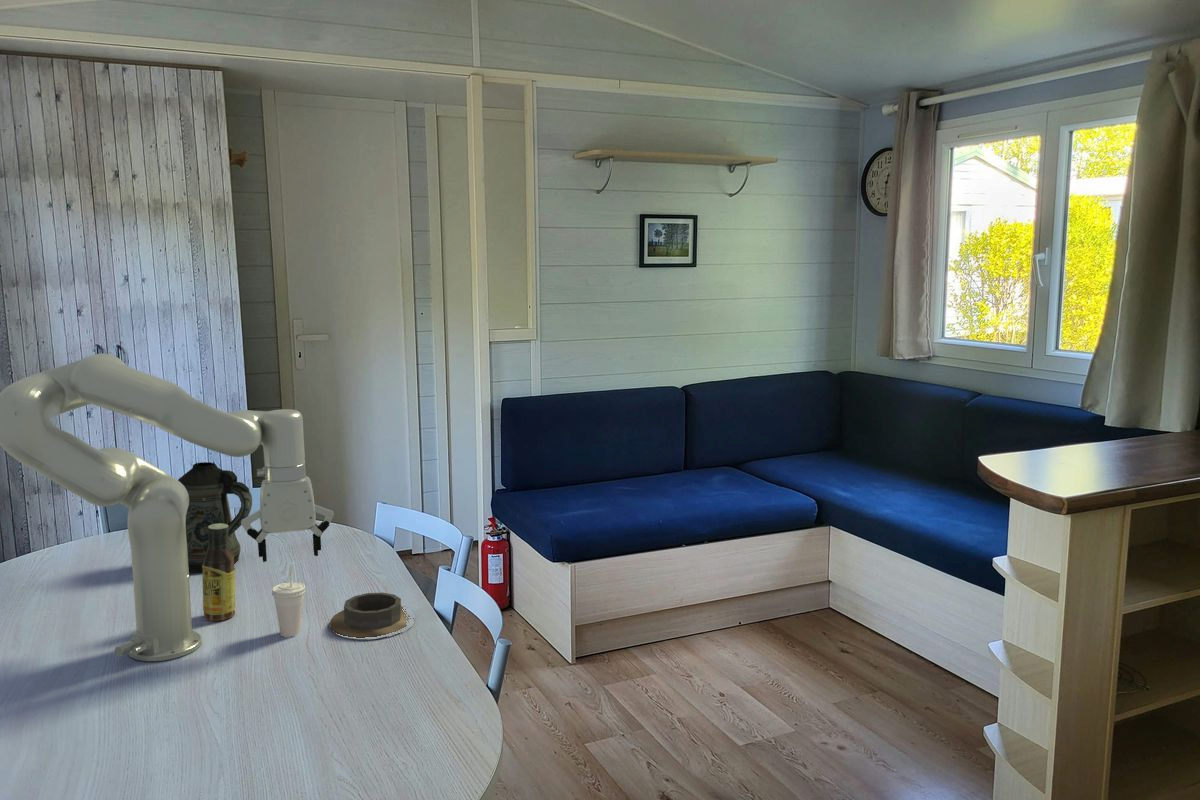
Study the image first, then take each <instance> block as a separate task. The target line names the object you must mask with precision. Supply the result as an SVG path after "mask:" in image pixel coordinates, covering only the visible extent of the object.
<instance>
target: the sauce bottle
mask: <svg viewBox="0 0 1200 800" xmlns="http://www.w3.org/2000/svg"><path fill="white" fill-rule="evenodd" d="M228 532H229V526H228V525H227V524H222V523H219V524H212V525H210V526H208V529H207V533H208V535H209V537H208V538H209V544H208V549H207V552H206V555H205V558H204V562H203V565H202V573H201V574H202V611H203V617H204V619H205V620H206V621H209V622H222V621H225V620H228V619H232V618H233V617H234V616H235V614H236V568H235V565H234V555H233V553H232V552H231V550H230V549H229V546H228Z"/></svg>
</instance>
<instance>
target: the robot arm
mask: <svg viewBox="0 0 1200 800" xmlns="http://www.w3.org/2000/svg"><path fill="white" fill-rule="evenodd" d="M88 405H94V406H96V407H99V408H103V409H104V410H108V411H112V412H114V413H116V414H120V415H123V416H126V417H128V418H132V419H135V420H137V421H140V422H143V423H146V424H149V425H152V426H154V427H156V428H158V429H160V430H162V431H164V432H165V433H169V434H171V435H174V436H175V437H177V438H180V439H182V440H184V441H186V442H189V443H191V444H193V445H197V446H198V447H201V448H204V449H207V450H211V451H214V452H216V453H219V454H222V455H225V456H228V457H233V458H234V457H235V458H241V457H247V456H249V455H251V454H253V453H254V452H256V450H257V449H259V446H260V445H261V446H262V447H263V463H264V466H263V467H262V468H260V469H259V468H257V469H256V476H257V477H263V478H264V479H263V480H262V482H261V485H260V494H259V496H260V497H259V509H257V510H256V511H255V512H253V513H250V514H249V515H248V517H246V518H244V519H242V521H241V526H242V528H243V529H244V531H245V532H246V533H247V535H248V536H249V537H251V538H252V539H254V540H255V541H256V543H257V548H258V558H262V562H263V563H266V562H267V561H268V558H267V543H266V537H267V536H268V534H281V533H291V532H300V531H306V530H307V531H308V530H309V531H311V532H312V533H313V534H312V546H313V547H312V548H313V555H314V556H315V557H318V556H319V551H322V541H321V540H322V539H321V538H322V537H321V536H322V535H323V533H324V532H325V531H326V530H327V529H328V528H329V526H330V524H331V522H332V520H333V518H334V516H335V513H334V510H332V509H329V508H326V507H323V506H320V505H319V504H315V497H314V489H313V486H312V485H313V484H312V481H311V478H310V477H309V476H307V473H306V471H307V470H306V454H305V441H304V440H305V439H304V438H305V437H304V420H303V419H304V417H303V415H302V413H301V412H300V411H299V410H296V409H288V408H286V409H274V410H269V411H268V410H267V411H266V410H264V411H263V410H250V409H249V410H248V409H239V410H238V409H237V410H234V411H231V412H226V411H224V410H221V409H218V408H216V407H213V406H211V405H208V404H206V403H204V402H201V401H199V400H198V399H196V398H194V397H193V396H191V394H188V393H187V392H186V390H184V389H183V388H182V387H181V386H179V385H177V384H176V383H173V382H171V381H169V380H166V379H163V378H160V377H157V376H154V375H151V374H149V373H146V372H143V371H140V370H138V369H135V368H133V367H130V366H127V365H126V364H125V362H124V361H123V360H122V359H120V358H119V357H118V356H115V355H113V354H109V353H97V354H96V353H95V354H92V355H90V356H87V357H84V358H82V359H79V360H78V359H77V360H75V361H73V362H69V363H66V364H64V365H60V366H57V367H54V368H50V369H47V370H44V371H41V372H37V373H35V374H31V375H28V376H26V377H24V378H21V379H19V380H17V381H15V382H13V383H11V384H9V385H8V386H6V387H5V388H3V390H1V392H0V446H1V447H2V449H3V450H4V451H5V452H7V454H8V455H9V456H10V457H13V459H15V460H17V461H18V462H19V463H21V464H22V465H24V466H26V467H28V468H30V469H32V470H33V471H35V472H37V473H38V474H40V475H42V476H43V477H45V478H47V479H49V480H50V481H52V482H54V483H55V484H57V485H59V486H60V487H62V488H64V489H66V490H68V491H69V492H71V493H73V494H75V495H76V496H78V497H79V498H81V499H83V500H85V501H86V502H88V503H90V504H92V505H94V506H97V507H103V508H104V507H105V508H106V507H111V506H112V507H113V506H115V505H117V504H120V505H122V506H123V507H125V508H127V509H128V512H127V531H128V533H127V534H128V540H129V545H130V553H131V568H132V579H133V597H134V612H135V627H136V630H134V631H133V632H131V638H130V639H128V641H127V642H124V643H122V644H119V645H118V646H115V648H114V654H115V655H116V656H117V657H123V656H125V655H126V654H128V655H129V657H130V658H132V659H133V660H136V661H141V662H162V661H169V660H173V659H177V658H180V657H183V656H186V655H188V654H190V653H193V652H194V651H196V650H197V649H198V648H200V646H201V644H202V636H201V634H199V632H197V631H194V630H193V626H192V625H193V624H192V607H191V587H190V573H189V566H188V550H187V538H186V514H187V509H188V506H189V495H188V492H187V490H186V488H185V487H184V486H183V484H182V483H180V482H179V481H178V479H177V478H175V477H173V476H172V475H171V474H169V473H167V472H166V471H163V470H161V468H159V467H158V466H155V465H153V464H152V463H150V462H148V461H147V460H145V459H144V458H142V457H141V456H138V455H137V454H135V453H133V452H131V451H129V450H127V449H124V448H119V447H114V446H112V447H111V446H108V447H104V448H100V449H98V448H96V447H94V446H92V445H90V444H89V443H87V442H85V441H83V440H82V439H80V438H79V437H77V436H75V435H74V434H72V433H69V432H67V431H65V430H63V429H60V428H58V427H57V426H56V425H55V424H54V423H53V422H52V420H51V419H53V418H54V417H57V416H59V415H62V414H65V413H67V412H70V411H74V410H77V409H80V408H82V407H86V406H88ZM316 514H319V515H322V516H323V517H324V519H323V520H322V521H321V522H320V523H319V524H317V520H316V518H317V516H316ZM259 519H260V527H261V528H260V529H259V531H258V530H256V529H255V528H254V527H253V526H252V523H254V522H255V521H257V520H259Z"/></svg>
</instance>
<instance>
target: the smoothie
mask: <svg viewBox="0 0 1200 800" xmlns="http://www.w3.org/2000/svg"><path fill="white" fill-rule="evenodd" d="M288 570H289V571H288V572H289V581H288V582H284V583H283V582H282V583H280V584H276V585H275V586H273V587H272V589H271V595H272V596H273V599H274V605H275V609H276V616H277V621H278V627H279V634H280V636H281V637H282V636H284V637H283V638H292V637H291V636H294V637H296V636H295V635H297V634H299V633H301V626H302V617H303V616H302V615H303V607H304V595H305V593H306V591H307V590H306V585H305V584H304V583H302V582H298V581H297V582H296V581H294V580H293V578H294V577H293V566H289V568H288ZM299 635H300V634H299ZM297 636H298V635H297Z"/></svg>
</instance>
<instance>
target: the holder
mask: <svg viewBox="0 0 1200 800" xmlns="http://www.w3.org/2000/svg"><path fill="white" fill-rule="evenodd" d="M402 606H403V607H405V605H402V598H400V597H399V596H397V595H396V594H394V593H387V592H383V591H382V592H368V593H367V592H366V593H362V594H357V595H353V596H352V597H350V598H348V599H347V600H345V602H344V605H343V609H342V610H340V611H339V612H337V613H335V614H334V615H333V616H332V617H331V619H330V621H329V622H330V623H329V624H330V625H329V626H331V627H330V630H331V629H332V630H333V631H334V632H335V633H337V634H340V635H343V636H348V637H356V638H365V637H377V636H381V635H386V634H389V633H392V632H396V631H398V630H400V629H402V628H404V627H406V626H407V625H406V623H407V622H406V620H407V621H408V620H409V618H408V617H410V616H409V615H408V617H407V616H406V614H407V613H406V614H405V613H404V612H406V611H404V612H403V610H404V609H403V607H402ZM402 609H403V610H402ZM405 610H406V609H405ZM404 615H405V616H404ZM406 617H407V619H406ZM410 619H411V618H410ZM413 619H414V618H413ZM404 621H405V622H404ZM408 622H409V621H408Z"/></svg>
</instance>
